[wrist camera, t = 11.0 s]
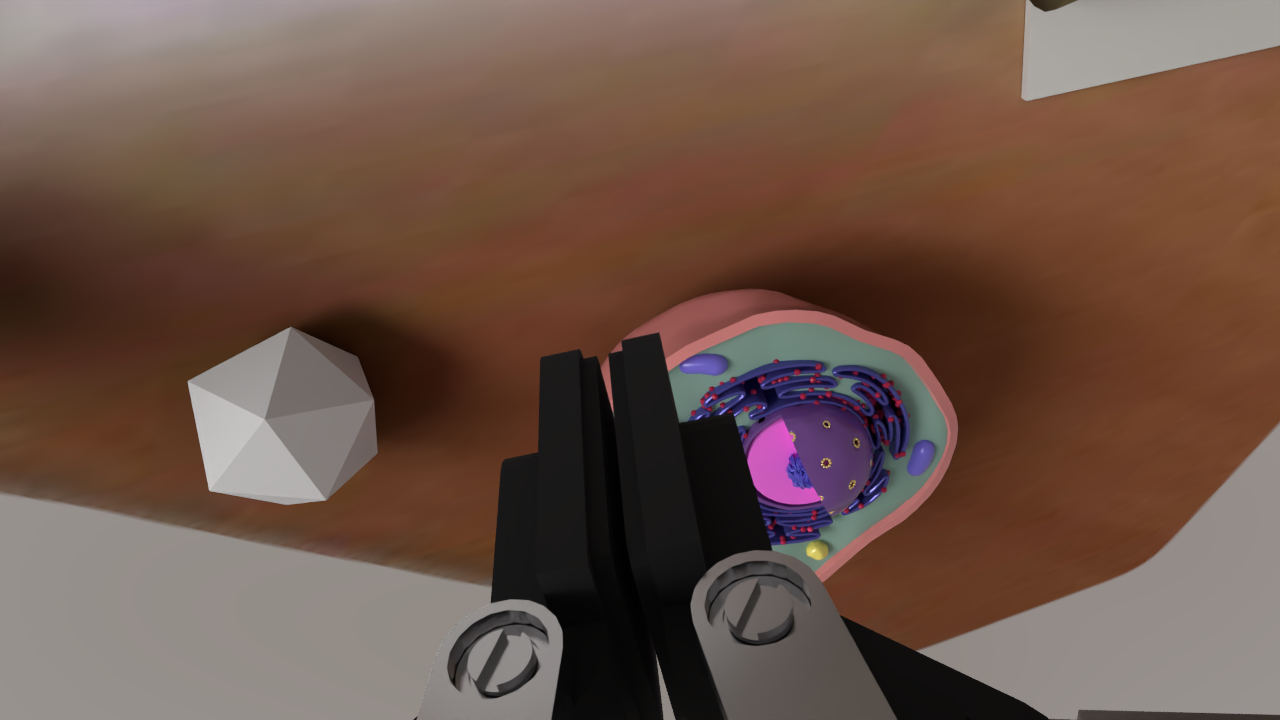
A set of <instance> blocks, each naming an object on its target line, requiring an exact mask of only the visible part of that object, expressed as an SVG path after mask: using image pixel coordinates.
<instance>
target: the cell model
mask: <svg viewBox="0 0 1280 720" xmlns="http://www.w3.org/2000/svg"><path fill="white" fill-rule="evenodd" d="M658 332H659V333H660V337H661V341H662V346H663V350H664V355H665V360H666V364H667V369H668V373H669V378H670V382H671V387H672V392H673V396H674V401H675V405H676V410H677V414H678V419H679V423H682V422H687V421H692V420H697V419H701V418H706V417H711V416H716V415H721V414H726V413H730V412H733V414H734V417H735V420H736V423H737V427H738V430H739V434H740V437H741V441H742V444H743V448H744V451H745V455H746V458H747V462H748V466H749V469H750V473H751V476H752V480H753V483H754V487H755V490H756V494H757V497H758V501H759V504H760V508H761V511H762V515H763V518H764V522H765V525H766V529H767V532H768V536H769V539H770V543H771V546H772V550H773V551H777V552H780V553H783V554H787V555H790V556H793V557H795V558H797V559H798V560H800V561H801V562H803V563H805V564H806V565H808V566H809V567H810V568H811V569H812V570H813V572H814V573H815V574H816V575H817V577H818V578H819V579H820V580H821V582H823V581H825V580H826V579H827V578H829V577H830V576H831V575H832V574H833V573H834V572H835V571H836V570H838V569H839V568H840V567H841V566H842V565H843V564H845V563H846V562H847V561H848V560H849V559H850V558H852V557H853V556H854V555H855V554H856V553H857V552H858V551H860V550H861V549H862V548H863V547H865V546H866V545H867V544H868V543H870V542H871V541H872V540H874V539H875V538H877V537H878V536H880V535H882V534H883V533H885V532H886V531H888V530H890V529H891V528H893V527H894V526H896V525H898V524H899V523H901V522H902V521H904V520H905V519H906V518H907V517H908V516H910V515H911V514H912V513H913V512H914V511H916V510H917V509H918V508H919V507H920V506H921V504H922V503H923V502H924V501H925V500H926V499H927V498H928V497H929V496H930V495H931V494H932V492H933V491H934V490H935V488H936V487H937V486H938V484H939V483H940V481H941V479H942V478H943V476H944V474H945V472H946V470H947V469H948V467H949V464H950V461H951V458H952V455H953V453H954V450H955V447H956V443H957V435H958V422H957V416H956V413H955V411H954V408H953V406H952V403H951V402H950V400H949V398H948V396H947V395H946V393H945V391H944V390H943V388H942V386H941V384H940V383H939V381H938V380H937V379H936V377H935V376H934V374H933V373H932V371H931V370H930V369H929V367H928V366H927V364H926V363H925V361H924V360H923V358H922V357H921V356H919V355H918V354H917V353H916V352H915V351H914V350H913V349H912V348H911V347H910V346H908V345H906V344H904V343H901V342H899V341H897V340H895V339H892V338H890V337H887V336H884V335H882V334H879V333H877V332H875V331H873V330H872V329H870V328H869V327H867V326H865V325H864V324H862V323H860V322H858V321H856V320H854V319H852V318H850V317H848V316H845V315H843V314H841V313H839V312H836V311H833V310H830V309H827V308H824V307H821V306H818V305H815V304H812V303H809V302H806V301H803V300H800V299H798V298H795V297H793V296H790V295H787V294H785V293H780V292H776V291H772V290H765V289H756V288H750V289H739V290H727V291H720V292H714V293H708V294H704V295H700V296H697V297H694V298H691V299H689V300H687V301H684V302H682V303H680V304H678V305H675V306H674V307H672V308H670V309H668V310H667V311H665V312H663V313H661V314H659V315H658V316H656V317H654V318H652V319H651V320H649V321H647V322H645V323H643V324H642V325H640V326H639V327H637V328H636V329H634V330H633V331H631V332H630V333H629V334H628V335H626V336H625V337H624V338H623V339H622V340H625V339H629V338H634V337H639V336H643V335H648V334H653V333H658ZM622 340H620V341H619V343H618V344H617V345H616V346H615V347H614V348H613V349H612V351H611V352H610V353H613V352H618V351H622V344H621V341H622ZM600 367H601V371H602V375H603V378H604V382H605V386H606V389H607V393H608V397H609V400H610V404H611V408H612V412H613V415H614V410H613V399H612V389H611V378H610V368H609V358H608V356H607V358H606V359H605V360H604V362H603V363H602V365H601V366H600Z"/></svg>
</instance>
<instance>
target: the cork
mask: <svg viewBox="0 0 1280 720" xmlns="http://www.w3.org/2000/svg"><path fill="white" fill-rule="evenodd" d="M1075 1H1077V0H1030V2H1031V3H1032V4H1033V5H1034V6H1035V7H1036V8H1038V9H1040V10H1042V11H1044V12H1047V11H1052V10H1056V9H1058V8H1061V7H1063V6H1066V5H1068V4H1070V3H1073V2H1075Z"/></svg>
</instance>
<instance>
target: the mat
mask: <svg viewBox="0 0 1280 720" xmlns="http://www.w3.org/2000/svg"><path fill="white" fill-rule="evenodd" d="M1275 46H1280V0H1077V1H1075V2H1073V3H1070V4H1068V5H1066V6H1063V7H1061V8H1058V9H1056V10H1052V11H1047V12H1044V11H1042V10H1040V9H1038V8H1036V7H1035V6H1034V5H1033V4H1032V3H1031V2H1030V0H1026V14H1025V34H1024V55H1023V75H1022V96H1021V98H1022V99H1024V100H1025V101H1029V100H1034V99H1038V98H1043V97H1047V96H1052V95H1056V94H1061V93H1066V92H1070V91H1075V90H1079V89H1084V88H1088V87H1093V86H1097V85H1102V84H1107V83H1111V82H1116V81H1120V80H1125V79H1129V78H1134V77H1138V76H1143V75H1148V74H1152V73H1157V72H1161V71H1166V70H1170V69H1175V68H1180V67H1184V66H1189V65H1193V64H1198V63H1202V62H1207V61H1211V60H1216V59H1221V58H1225V57H1230V56H1234V55H1239V54H1243V53H1248V52H1253V51H1257V50H1262V49H1266V48H1271V47H1275Z"/></svg>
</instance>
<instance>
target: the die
mask: <svg viewBox="0 0 1280 720" xmlns="http://www.w3.org/2000/svg"><path fill="white" fill-rule="evenodd" d="M188 386H189V391H190V396H191V401H192V406H193V411H194V416H195V421H196V426H197V431H198V436H199V441H200V446H201V451H202V456H203V461H204V466H205V471H206V476H207V481H208V486H209V491H213V492H218V493H224V494H230V495H235V496H241V497H246V498H252V499H258V500H263V501H269V502H274V503H280V504H285V505H288V504H297V503H306V502H315V501H324V500H327V499H328V498H329V497H330V496H331V495H332V494H334V493H335V492H336V491H337V490H338V489H339V488H340V487H341V486H342V485H343V484H344V483H346V482H347V481H348V480H349V479H350V478H351V477H352V476H353V475H354V474H355V473H356V472H358V471H359V470H360V469H361V468H362V467H363V466H364V465H365V464H366V463H367V462H368V461H369V460H371V459H372V458H373V457H374V456H375V455H376V454H377V453H378V452H377V437H376V422H375V407H374V398H373V396H372V393H371V390H370V388H369V385H368V383H367V380H366V377H365V375H364V372H363V369H362V367H361V364H360V361H359V359H358V357H357V356H355V355H352V354H350V353H348V352H346V351H344V350H341V349H339V348H337V347H335V346H332V345H330V344H328V343H326V342H324V341H321V340H319V339H317V338H315V337H312V336H310V335H308V334H306V333H304V332H301V331H299V330H297V329H295V328H292V327H289V328H288V329H286V330H284V331H282V332H280V333H278V334H276V335H274V336H272V337H270V338H268V339H266V340H264V341H263V342H261V343H259V344H257V345H255V346H253V347H251V348H249V349H247V350H245V351H243V352H242V353H240V354H238V355H236V356H234V357H232V358H230V359H228V360H226V361H225V362H223V363H221V364H219V365H217V366H215V367H213V368H211V369H210V370H208V371H206V372H204V373H202V374H200V375H198V376H196V377H194V378H193V379H191V380H189V381H188Z"/></svg>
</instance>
